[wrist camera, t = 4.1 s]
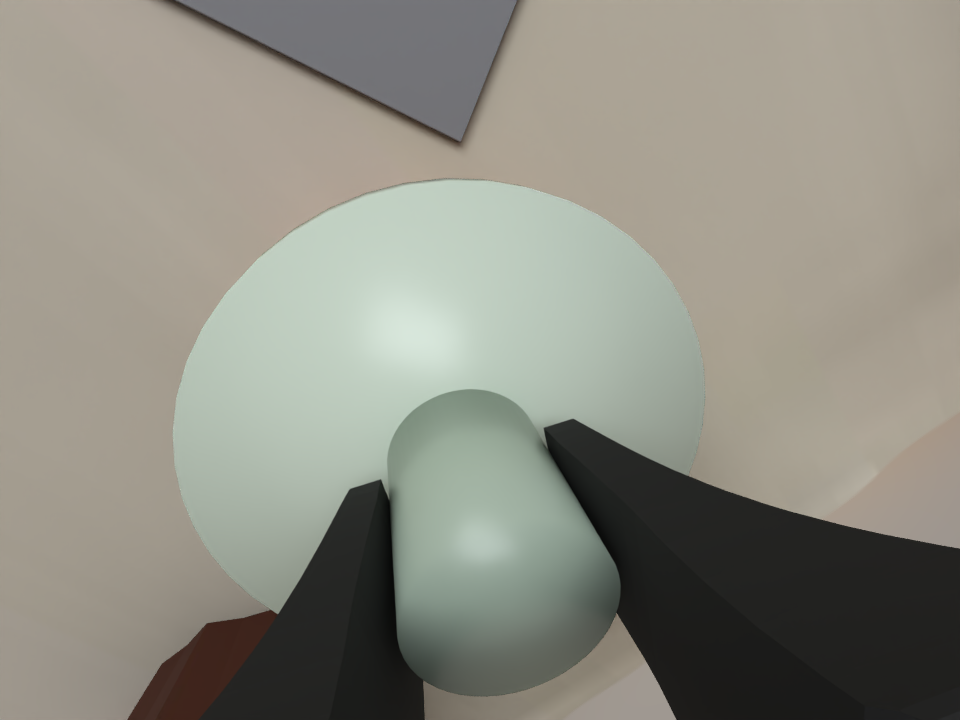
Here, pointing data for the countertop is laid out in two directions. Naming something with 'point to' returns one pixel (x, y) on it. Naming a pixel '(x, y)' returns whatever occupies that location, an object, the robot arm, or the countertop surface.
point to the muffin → (201, 669)
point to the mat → (383, 47)
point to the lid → (439, 413)
